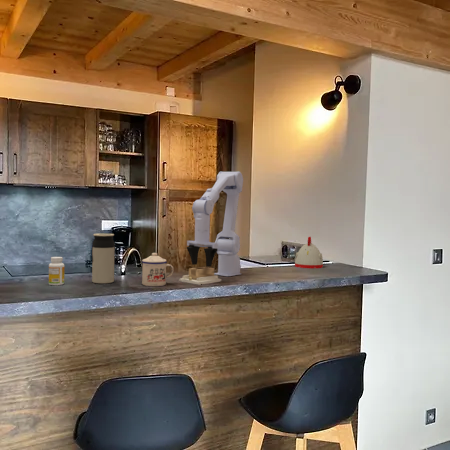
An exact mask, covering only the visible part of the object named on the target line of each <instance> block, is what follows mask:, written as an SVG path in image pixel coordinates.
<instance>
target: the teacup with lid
mask: <svg viewBox="0 0 450 450" xmlns="http://www.w3.org/2000/svg"><path fill="white" fill-rule="evenodd" d="M141 263H142V273H141V275H142V277H141V281H142V282H141V284H142V285H143V286H145V287H163V286H165V285H166V284H167V278H170V277H171V276H172V275H173V273H174V266H173V265H172V264H169V263H168V262H167V259H165V258H162V257H161V256H160V255H158V253H157V252H152V253H151V255H150V256H148V257H146V258H143V259H142V260H141ZM167 267H169V268H170V272H169V274H167Z"/></svg>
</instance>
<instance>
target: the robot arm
mask: <svg viewBox="0 0 450 450" xmlns="http://www.w3.org/2000/svg"><path fill="white" fill-rule="evenodd" d="M243 176H244V175H243V174H242V172H241V171H219V172H218V174H217V175H216V181H215V183H214V184H213V186H212V187H211V188H207V189H206V191H205V192H204V193H203V195H202V196H201V197H200V198H199V199H196V200H195V201H193V204H192V207H191V209H192V213H193V218H194V240H186V250H187V251H188V254H189V256H190V260H191V265H192V266H193V265H198V259H199V251H200V248H203V250H204V255H205V267H210V268H211V267H212V264H213V261H214V259H215V258H214V257H215V255H216V254H217V255H218V258H217V259H218V260H217V261H218V263H217V264H218V265H217V272H214V275H217V276H224V277H231V276H233V277H234V276H239V275H242V272H241V258H240V256H239V255H238V253H239V251H240V248H241V240H240V239H241V238H240V236H239V234H237V233H236V232H235V231H236V229H235V228H236V221H237V215H238V205H239V198H240V193H242V191H243V187H244V186H243V184H244V177H243ZM222 191H223V192H224V193H225V194H226V203H225V211H224V218H223V225H222V231H220V232H219V233H218V234H217V235H216V239H215V241H213V242H211V241H210V236H211V235H210V234H211V233H210V232H211V230H210V228H211V227H210V225H211V224H210V223H211V216H210V215H211V214H212V213H213V211H214V208H215V204H216V203H217V202H218V200H219V198H220V193H221V192H222Z"/></svg>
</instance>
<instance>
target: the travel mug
mask: <svg viewBox="0 0 450 450" xmlns="http://www.w3.org/2000/svg"><path fill="white" fill-rule="evenodd" d="M114 236H115V234H114V233H93V238H94V239H93V241H92V249H91V250H92V263H91V264H92V265H91V266H92V267H91V272H92V273H91V282H92V283H94V284H105V285H106V284H111V283H113V282H115V247H116V246H115V241H114Z"/></svg>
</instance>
